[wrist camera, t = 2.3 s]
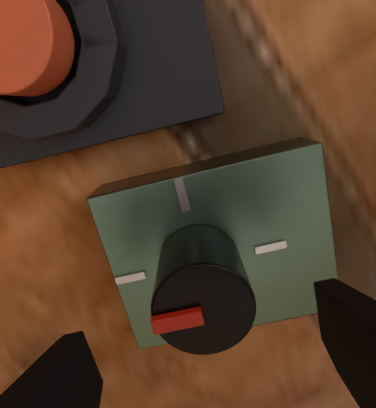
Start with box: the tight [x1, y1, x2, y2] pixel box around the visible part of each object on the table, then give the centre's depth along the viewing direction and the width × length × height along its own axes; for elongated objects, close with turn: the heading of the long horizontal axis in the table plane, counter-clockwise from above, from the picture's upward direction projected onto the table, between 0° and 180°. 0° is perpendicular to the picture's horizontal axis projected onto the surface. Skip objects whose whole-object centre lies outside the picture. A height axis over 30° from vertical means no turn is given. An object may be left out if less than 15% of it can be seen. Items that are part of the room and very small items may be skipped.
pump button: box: [0, 0, 75, 97], centre depth 10 cm, size 4×4×2 cm
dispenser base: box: [0, 0, 224, 168], centre depth 12 cm, size 10×8×4 cm
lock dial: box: [150, 225, 256, 355], centre depth 12 cm, size 4×4×4 cm
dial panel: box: [87, 137, 338, 349], centre depth 15 cm, size 10×8×3 cm
